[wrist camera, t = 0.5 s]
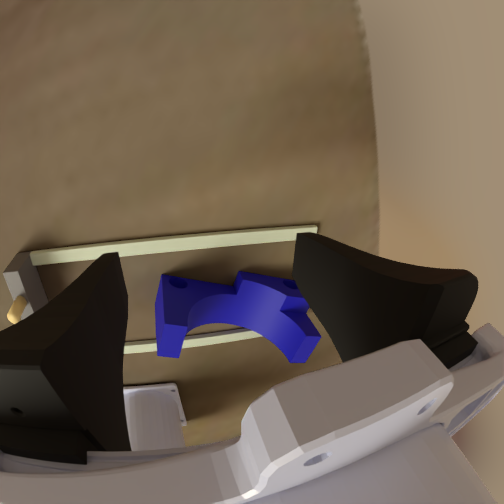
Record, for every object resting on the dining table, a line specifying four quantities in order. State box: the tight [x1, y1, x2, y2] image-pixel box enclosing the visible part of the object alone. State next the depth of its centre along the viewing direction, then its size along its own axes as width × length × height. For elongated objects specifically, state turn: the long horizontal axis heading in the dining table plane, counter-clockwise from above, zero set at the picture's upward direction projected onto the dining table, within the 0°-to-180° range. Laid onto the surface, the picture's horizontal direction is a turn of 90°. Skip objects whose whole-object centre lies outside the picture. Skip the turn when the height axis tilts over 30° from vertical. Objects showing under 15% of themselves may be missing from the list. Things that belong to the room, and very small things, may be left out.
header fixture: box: [3, 225, 317, 354], centre depth 21 cm, size 11×24×5 cm, turn 88°
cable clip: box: [155, 271, 321, 363], centre depth 22 cm, size 12×4×6 cm, turn 69°
